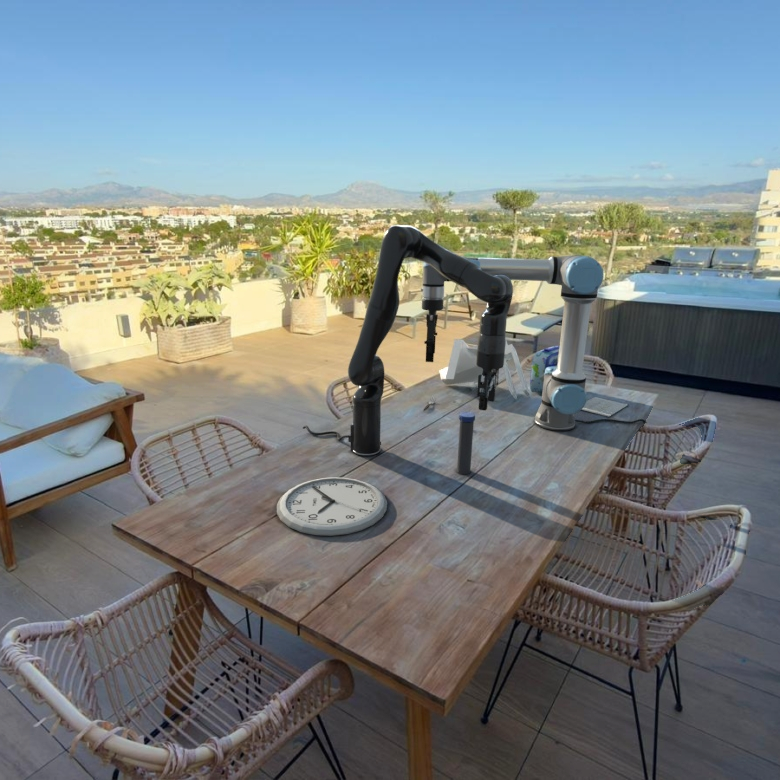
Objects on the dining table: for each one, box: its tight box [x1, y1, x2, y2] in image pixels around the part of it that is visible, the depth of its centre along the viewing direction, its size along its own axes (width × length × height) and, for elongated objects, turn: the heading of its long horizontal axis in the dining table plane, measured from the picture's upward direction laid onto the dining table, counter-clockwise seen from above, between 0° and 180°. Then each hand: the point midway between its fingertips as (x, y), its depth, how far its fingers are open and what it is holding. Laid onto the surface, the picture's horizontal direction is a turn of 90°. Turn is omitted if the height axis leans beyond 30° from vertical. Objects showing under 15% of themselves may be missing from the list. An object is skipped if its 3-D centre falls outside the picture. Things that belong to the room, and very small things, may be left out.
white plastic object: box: [438, 336, 531, 400], centre depth 245 cm, size 37×45×31 cm
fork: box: [422, 395, 437, 412], centre depth 223 cm, size 3×16×2 cm, turn 160°
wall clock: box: [276, 476, 388, 537], centre depth 142 cm, size 30×2×30 cm
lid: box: [458, 411, 476, 422], centre depth 159 cm, size 5×5×2 cm
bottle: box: [456, 420, 475, 475], centre depth 161 cm, size 4×4×19 cm
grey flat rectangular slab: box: [580, 396, 629, 418], centre depth 226 cm, size 21×1×15 cm
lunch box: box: [529, 345, 560, 394], centre depth 244 cm, size 26×11×21 cm, turn 135°
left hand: (486, 405), depth 148 cm, fingers open, 8 cm apart
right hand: (430, 357), depth 190 cm, fingers open, 13 cm apart
